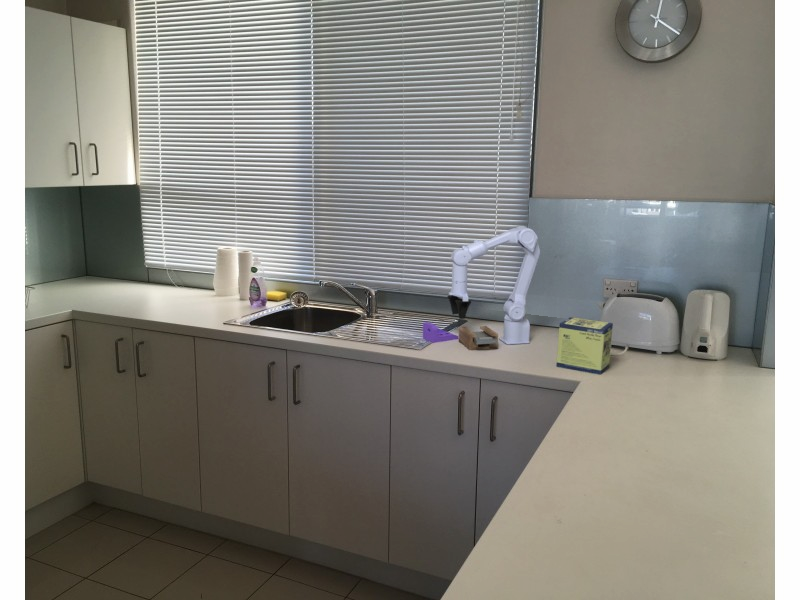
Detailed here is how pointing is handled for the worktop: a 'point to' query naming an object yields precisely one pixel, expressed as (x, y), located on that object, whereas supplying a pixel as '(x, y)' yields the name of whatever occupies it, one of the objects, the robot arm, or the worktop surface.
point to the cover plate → (483, 338)
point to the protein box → (584, 345)
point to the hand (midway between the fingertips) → (458, 316)
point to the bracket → (436, 333)
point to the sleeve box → (467, 336)
